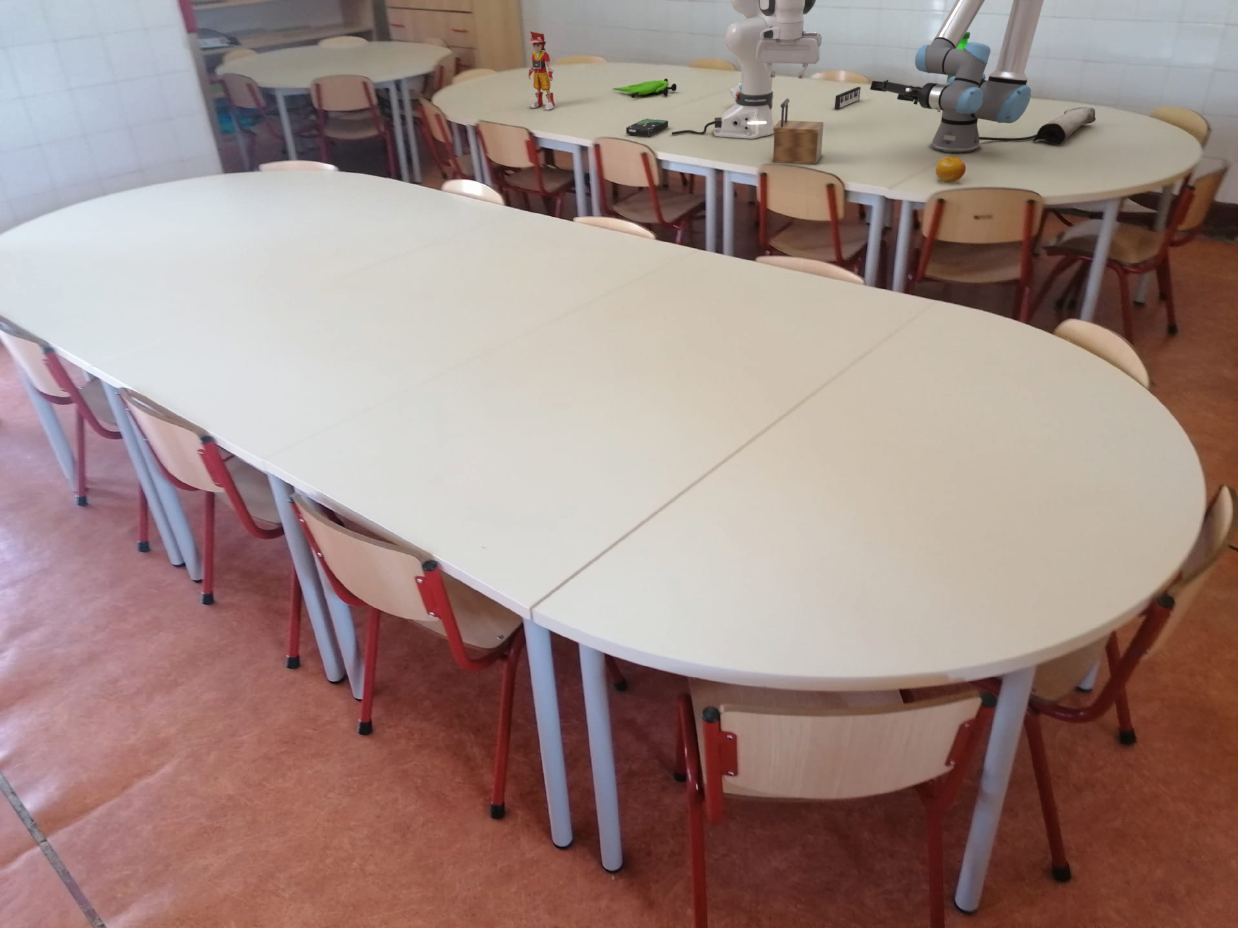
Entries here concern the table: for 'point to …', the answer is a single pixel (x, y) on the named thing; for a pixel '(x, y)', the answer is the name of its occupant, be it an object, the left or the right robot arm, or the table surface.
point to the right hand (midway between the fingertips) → (885, 90)
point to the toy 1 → (541, 71)
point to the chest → (797, 147)
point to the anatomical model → (735, 89)
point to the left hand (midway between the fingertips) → (786, 78)
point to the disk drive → (647, 127)
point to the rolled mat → (1065, 125)
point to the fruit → (950, 169)
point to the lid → (795, 123)
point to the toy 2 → (648, 88)
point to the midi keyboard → (847, 97)
